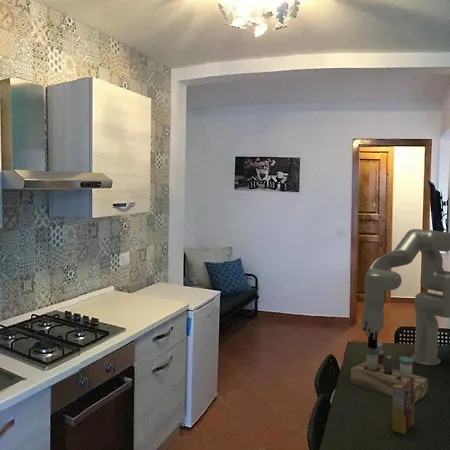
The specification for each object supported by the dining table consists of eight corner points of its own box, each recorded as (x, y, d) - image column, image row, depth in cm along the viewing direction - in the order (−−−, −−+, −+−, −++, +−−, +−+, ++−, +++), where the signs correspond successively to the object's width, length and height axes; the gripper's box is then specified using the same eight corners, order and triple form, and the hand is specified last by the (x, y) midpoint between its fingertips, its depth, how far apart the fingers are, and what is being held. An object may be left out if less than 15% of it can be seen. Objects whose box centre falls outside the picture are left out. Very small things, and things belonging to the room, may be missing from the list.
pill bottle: (386, 370, 209) (387, 344, 208) (376, 372, 205) (377, 347, 204) (374, 365, 214) (375, 340, 213) (365, 368, 210) (366, 343, 210)
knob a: (369, 365, 198) (369, 346, 197) (381, 369, 194) (381, 349, 194) (362, 368, 194) (363, 349, 194) (374, 372, 191) (375, 352, 190)
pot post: (386, 371, 191) (387, 354, 191) (393, 373, 189) (394, 356, 189) (382, 373, 189) (383, 356, 189) (390, 375, 187) (390, 358, 187)
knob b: (402, 375, 188) (402, 355, 187) (415, 379, 184) (415, 358, 184) (395, 378, 184) (396, 358, 184) (409, 382, 181) (409, 362, 180)
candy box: (400, 420, 164) (402, 377, 162) (413, 424, 161) (415, 380, 160) (390, 430, 157) (392, 385, 156) (404, 435, 154) (405, 389, 153)
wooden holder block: (365, 374, 203) (365, 360, 203) (426, 393, 185) (427, 378, 184) (350, 382, 195) (351, 368, 194) (413, 403, 176) (414, 387, 176)
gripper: (374, 298, 200) (372, 341, 201) (356, 304, 189) (354, 350, 191) (391, 301, 195) (389, 346, 196) (373, 308, 184) (371, 354, 186)
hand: (372, 347), depth 194 cm, fingers closed
